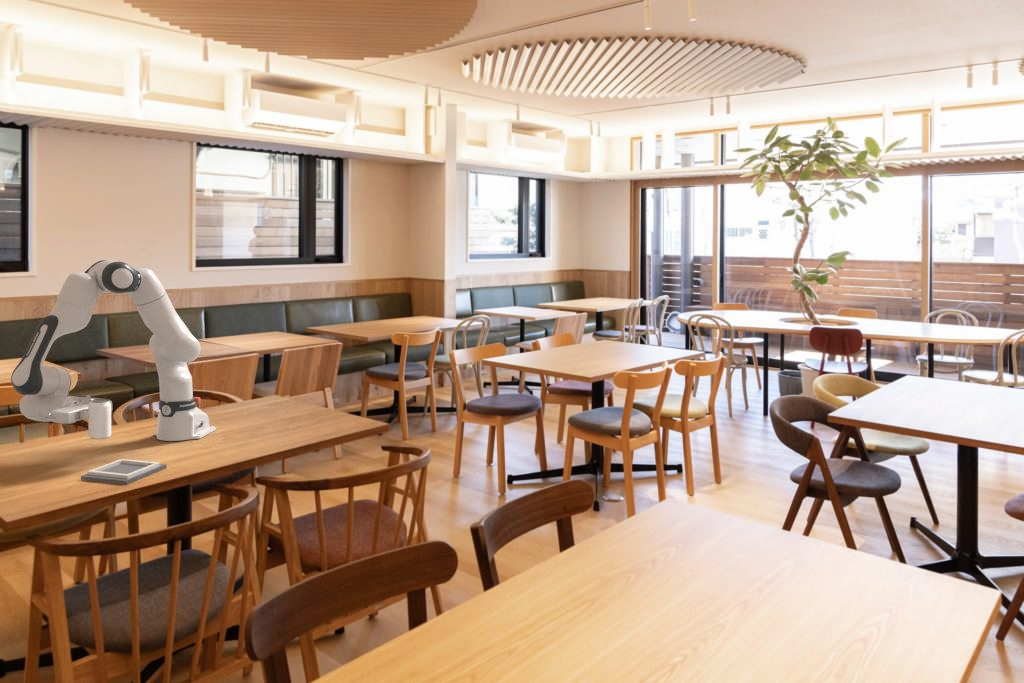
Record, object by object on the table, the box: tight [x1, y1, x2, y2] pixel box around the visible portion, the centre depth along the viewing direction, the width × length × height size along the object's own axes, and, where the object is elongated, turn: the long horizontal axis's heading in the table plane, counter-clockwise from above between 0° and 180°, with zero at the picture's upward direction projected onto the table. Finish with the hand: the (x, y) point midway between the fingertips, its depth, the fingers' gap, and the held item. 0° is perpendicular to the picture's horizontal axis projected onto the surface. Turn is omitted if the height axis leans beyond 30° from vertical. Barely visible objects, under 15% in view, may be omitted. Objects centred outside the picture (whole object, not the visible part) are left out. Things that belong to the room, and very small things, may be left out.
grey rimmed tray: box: [80, 458, 167, 485], centre depth 246 cm, size 18×16×2 cm
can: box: [87, 398, 112, 440], centre depth 253 cm, size 6×6×12 cm
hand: (103, 413), depth 254 cm, fingers closed on can, 4 cm apart
